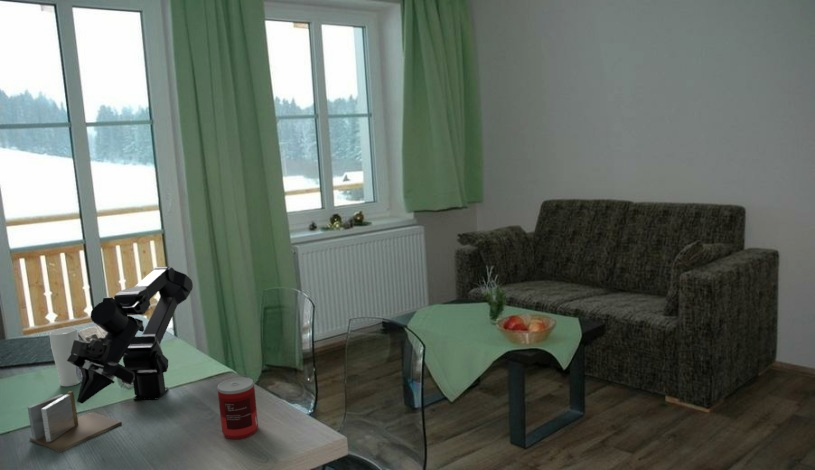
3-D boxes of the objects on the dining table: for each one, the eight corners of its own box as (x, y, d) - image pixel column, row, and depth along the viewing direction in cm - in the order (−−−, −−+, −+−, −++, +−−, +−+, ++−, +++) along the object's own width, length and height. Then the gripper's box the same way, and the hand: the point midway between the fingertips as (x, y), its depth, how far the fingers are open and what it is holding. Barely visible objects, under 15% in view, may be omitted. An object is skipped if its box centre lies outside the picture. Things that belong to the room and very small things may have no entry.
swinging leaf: (70, 425, 147) (65, 394, 146) (74, 425, 147) (69, 394, 146) (46, 441, 140) (41, 409, 138) (51, 441, 139) (45, 409, 138)
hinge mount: (91, 414, 155) (86, 380, 153) (121, 424, 148) (116, 388, 147) (30, 440, 143) (24, 403, 141) (59, 452, 136) (53, 414, 135)
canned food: (243, 420, 147) (238, 374, 145) (266, 429, 141) (261, 381, 140) (214, 433, 141) (209, 386, 139) (237, 443, 136) (231, 394, 134)
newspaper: (78, 336, 222) (77, 326, 221) (117, 327, 229) (115, 318, 229) (99, 362, 194) (97, 350, 193) (142, 352, 201) (140, 341, 200)
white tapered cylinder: (73, 388, 172) (65, 334, 169) (51, 388, 173) (43, 334, 171) (90, 379, 178) (82, 327, 176) (69, 378, 180) (61, 326, 177)
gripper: (68, 319, 151) (28, 380, 144) (114, 329, 141) (73, 396, 134) (105, 340, 159) (68, 399, 152) (151, 352, 149) (113, 416, 142)
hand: (79, 402), depth 145 cm, fingers closed
